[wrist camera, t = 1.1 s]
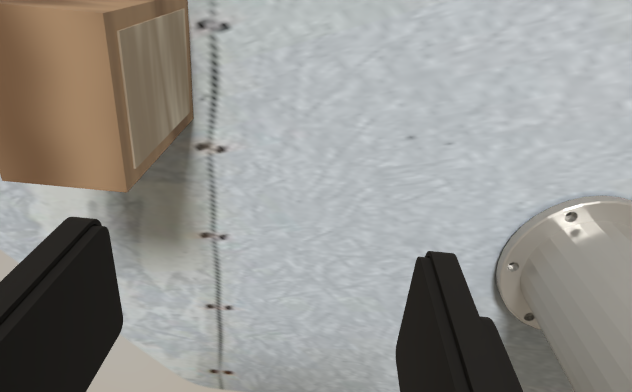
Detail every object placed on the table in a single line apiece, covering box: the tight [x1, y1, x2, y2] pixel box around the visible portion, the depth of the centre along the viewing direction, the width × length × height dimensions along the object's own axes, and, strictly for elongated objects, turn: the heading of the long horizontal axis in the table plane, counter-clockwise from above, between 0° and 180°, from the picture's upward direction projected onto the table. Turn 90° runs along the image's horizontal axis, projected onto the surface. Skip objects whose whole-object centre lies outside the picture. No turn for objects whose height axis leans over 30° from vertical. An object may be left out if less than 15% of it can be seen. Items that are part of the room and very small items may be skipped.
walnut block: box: [0, 0, 193, 192], centre depth 24 cm, size 6×8×11 cm
